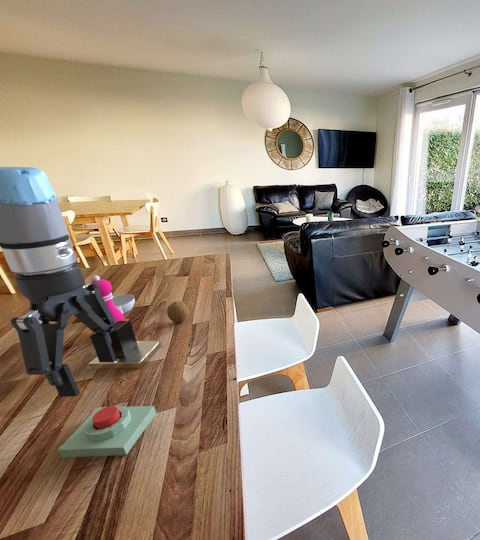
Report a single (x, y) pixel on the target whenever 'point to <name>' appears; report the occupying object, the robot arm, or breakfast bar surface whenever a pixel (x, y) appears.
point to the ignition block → (109, 434)
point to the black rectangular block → (122, 338)
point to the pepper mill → (108, 297)
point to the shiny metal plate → (130, 357)
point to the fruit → (177, 311)
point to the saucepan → (123, 302)
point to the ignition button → (106, 417)
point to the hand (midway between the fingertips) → (90, 376)
